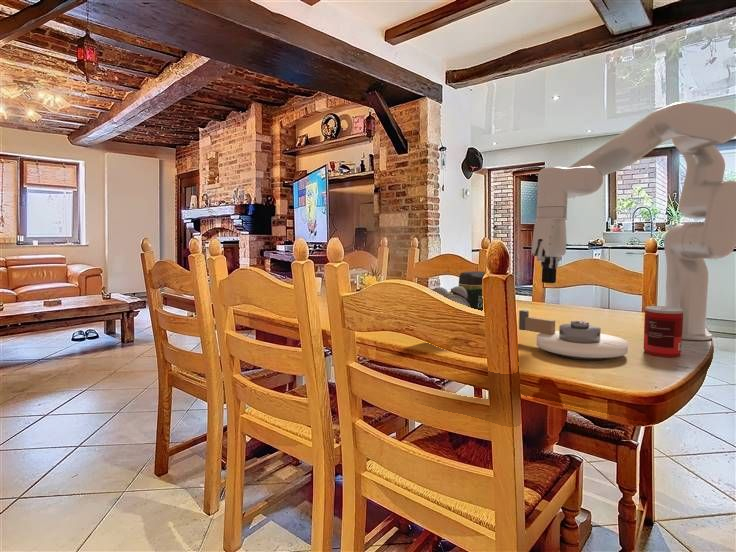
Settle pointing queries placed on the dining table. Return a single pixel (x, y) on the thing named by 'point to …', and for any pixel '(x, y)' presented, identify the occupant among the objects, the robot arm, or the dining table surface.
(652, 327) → the canned food
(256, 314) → the dining table surface
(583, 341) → the cover
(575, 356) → the stand
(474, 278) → the coffee jar
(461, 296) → the alarm clock
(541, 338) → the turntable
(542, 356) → the dining table surface
